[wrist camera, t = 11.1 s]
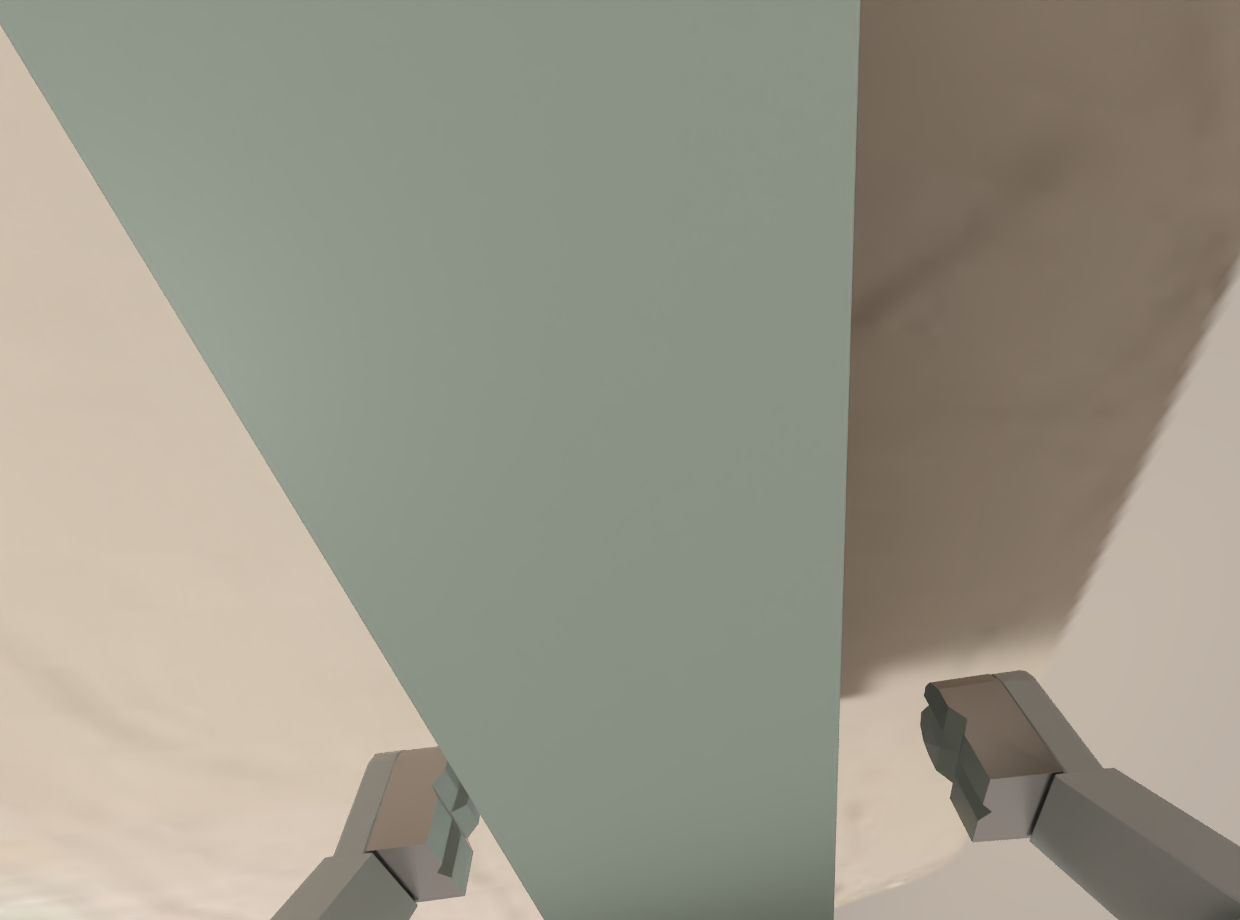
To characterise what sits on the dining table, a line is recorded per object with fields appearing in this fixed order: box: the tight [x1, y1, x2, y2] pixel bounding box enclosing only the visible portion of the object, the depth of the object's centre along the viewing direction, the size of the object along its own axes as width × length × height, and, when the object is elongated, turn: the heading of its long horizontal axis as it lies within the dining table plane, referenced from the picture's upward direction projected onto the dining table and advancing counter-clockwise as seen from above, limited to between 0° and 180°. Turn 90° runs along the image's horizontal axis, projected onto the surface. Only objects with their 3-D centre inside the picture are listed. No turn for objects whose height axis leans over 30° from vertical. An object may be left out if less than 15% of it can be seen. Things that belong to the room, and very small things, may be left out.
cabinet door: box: [0, 0, 860, 920], centre depth 11 cm, size 22×4×10 cm, turn 11°
